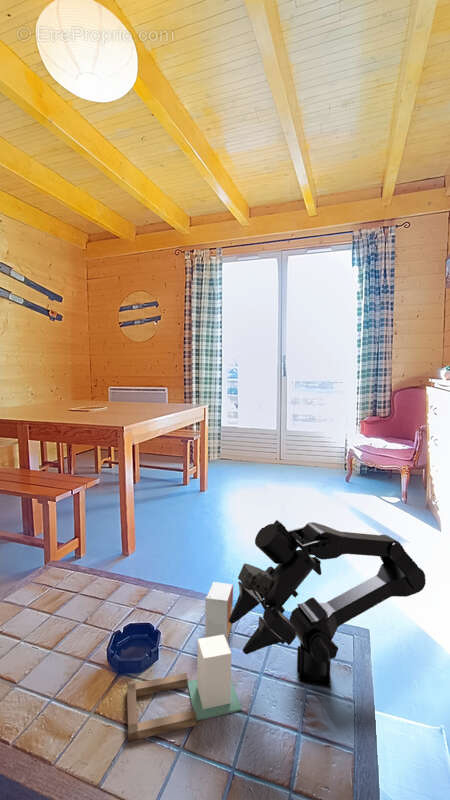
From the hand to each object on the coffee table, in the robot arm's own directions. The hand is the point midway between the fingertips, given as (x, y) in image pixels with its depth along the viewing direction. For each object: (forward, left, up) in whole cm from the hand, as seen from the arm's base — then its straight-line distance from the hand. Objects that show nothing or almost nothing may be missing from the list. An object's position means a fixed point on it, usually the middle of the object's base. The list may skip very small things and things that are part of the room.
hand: (236, 636), depth 74 cm
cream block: (+4, +2, -11) cm, 12 cm away
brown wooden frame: (+14, +7, -11) cm, 19 cm away
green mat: (+4, +2, -11) cm, 12 cm away
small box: (+7, -17, -12) cm, 22 cm away
